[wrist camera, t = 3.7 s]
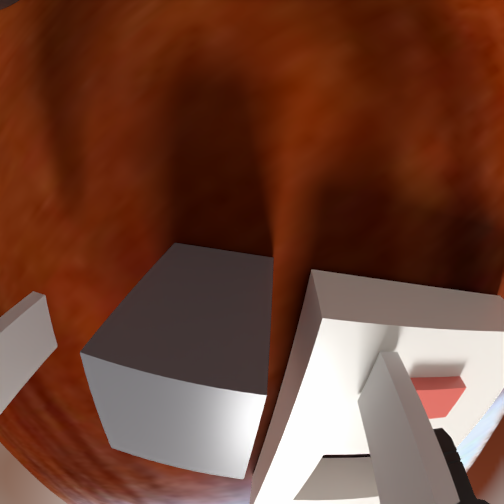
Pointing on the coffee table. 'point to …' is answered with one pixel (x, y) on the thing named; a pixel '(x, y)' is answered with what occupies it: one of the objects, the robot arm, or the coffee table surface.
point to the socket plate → (358, 371)
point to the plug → (187, 361)
